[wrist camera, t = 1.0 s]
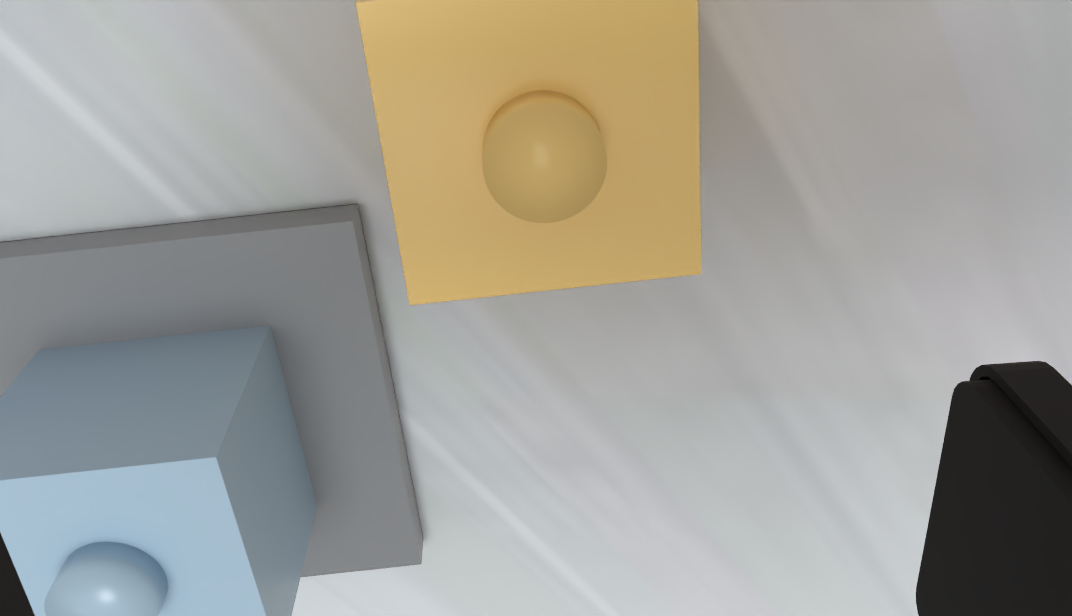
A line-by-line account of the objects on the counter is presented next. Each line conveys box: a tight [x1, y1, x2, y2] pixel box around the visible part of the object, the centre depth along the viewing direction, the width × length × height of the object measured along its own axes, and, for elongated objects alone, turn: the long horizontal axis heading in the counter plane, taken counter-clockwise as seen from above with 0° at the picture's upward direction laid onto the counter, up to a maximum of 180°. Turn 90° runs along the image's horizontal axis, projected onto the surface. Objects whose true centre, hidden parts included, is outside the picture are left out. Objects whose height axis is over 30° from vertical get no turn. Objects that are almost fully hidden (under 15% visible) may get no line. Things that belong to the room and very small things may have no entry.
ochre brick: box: [356, 0, 701, 305], centre depth 21 cm, size 6×6×7 cm
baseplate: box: [0, 204, 423, 577], centre depth 27 cm, size 12×12×2 cm
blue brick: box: [0, 325, 317, 616], centre depth 24 cm, size 6×6×7 cm
